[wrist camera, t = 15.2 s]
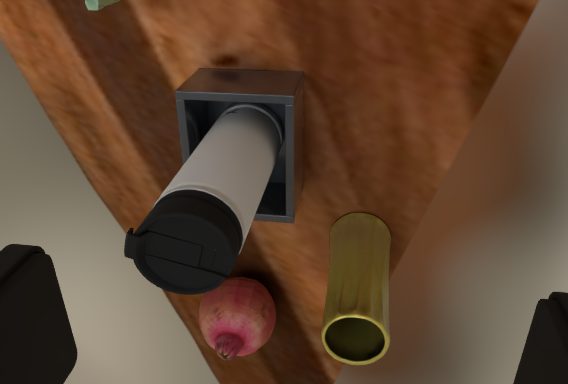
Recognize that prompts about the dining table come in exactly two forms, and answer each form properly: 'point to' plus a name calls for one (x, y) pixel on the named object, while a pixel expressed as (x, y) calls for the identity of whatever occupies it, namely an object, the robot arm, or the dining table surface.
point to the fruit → (237, 317)
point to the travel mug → (209, 203)
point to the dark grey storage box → (256, 89)
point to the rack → (98, 4)
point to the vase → (357, 290)
